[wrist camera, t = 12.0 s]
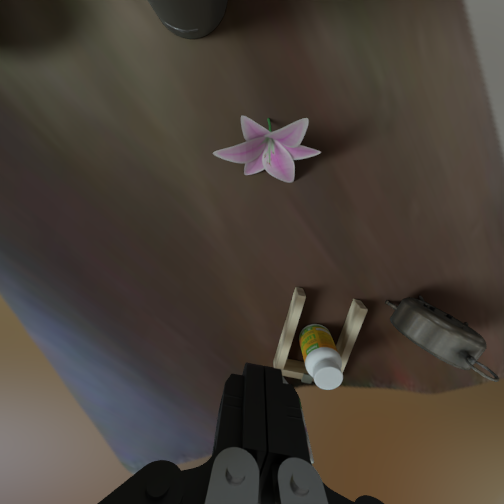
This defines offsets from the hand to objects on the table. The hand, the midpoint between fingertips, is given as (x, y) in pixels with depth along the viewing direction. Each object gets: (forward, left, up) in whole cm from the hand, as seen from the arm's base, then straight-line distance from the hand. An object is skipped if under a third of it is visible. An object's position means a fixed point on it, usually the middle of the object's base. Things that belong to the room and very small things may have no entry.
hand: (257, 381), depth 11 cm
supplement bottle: (+17, +14, -31) cm, 38 cm away
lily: (-11, -1, -31) cm, 33 cm away
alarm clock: (+7, +28, -31) cm, 42 cm away
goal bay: (+16, +14, -31) cm, 37 cm away
